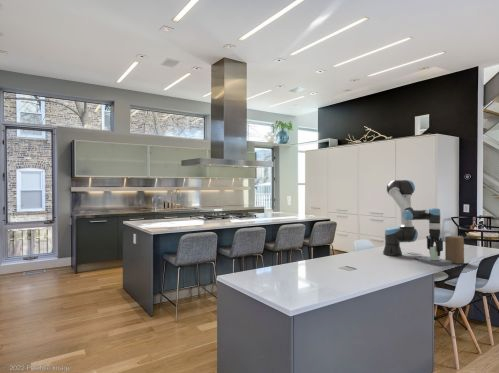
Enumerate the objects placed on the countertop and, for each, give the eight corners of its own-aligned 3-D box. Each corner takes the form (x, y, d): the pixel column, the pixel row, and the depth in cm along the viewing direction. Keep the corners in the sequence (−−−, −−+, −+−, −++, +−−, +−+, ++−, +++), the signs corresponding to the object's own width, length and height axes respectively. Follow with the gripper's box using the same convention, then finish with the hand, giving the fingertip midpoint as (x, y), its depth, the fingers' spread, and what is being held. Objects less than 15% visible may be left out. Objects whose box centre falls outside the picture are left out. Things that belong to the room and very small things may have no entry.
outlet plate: (418, 261, 268) (418, 258, 268) (431, 259, 273) (431, 256, 273) (438, 265, 251) (438, 262, 251) (451, 264, 256) (451, 261, 256)
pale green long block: (430, 259, 261) (430, 245, 261) (434, 258, 262) (434, 245, 262) (435, 260, 256) (435, 246, 256) (439, 260, 258) (439, 246, 258)
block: (444, 262, 263) (444, 236, 264) (450, 260, 269) (450, 235, 270) (459, 264, 255) (458, 237, 256) (464, 262, 262) (464, 236, 262)
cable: (419, 256, 285) (419, 255, 285) (419, 256, 285) (419, 255, 285) (434, 259, 275) (434, 258, 275) (435, 259, 276) (435, 257, 276)
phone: (413, 259, 275) (413, 258, 275) (422, 257, 281) (422, 256, 281) (420, 260, 270) (420, 259, 270) (429, 259, 276) (429, 257, 276)
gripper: (421, 227, 266) (421, 257, 266) (441, 230, 250) (441, 262, 250) (428, 227, 269) (428, 256, 269) (448, 229, 253) (448, 261, 252)
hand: (434, 259), depth 259 cm, fingers closed on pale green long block, 4 cm apart
